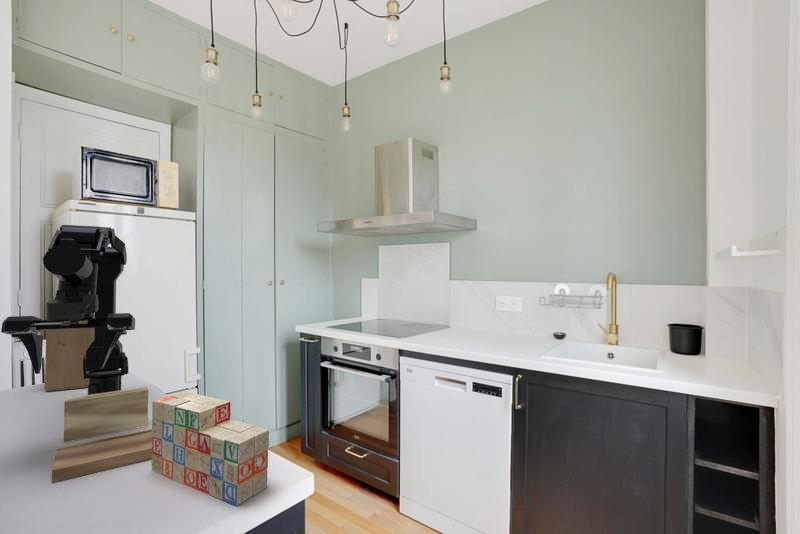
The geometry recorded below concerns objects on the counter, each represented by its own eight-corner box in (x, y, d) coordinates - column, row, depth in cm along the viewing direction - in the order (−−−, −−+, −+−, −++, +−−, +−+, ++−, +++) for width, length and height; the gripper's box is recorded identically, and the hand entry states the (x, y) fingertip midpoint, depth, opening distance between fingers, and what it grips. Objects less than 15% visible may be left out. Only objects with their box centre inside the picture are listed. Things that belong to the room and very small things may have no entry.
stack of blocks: (268, 487, 63) (270, 410, 63) (236, 508, 58) (238, 423, 58) (184, 456, 73) (186, 389, 73) (150, 471, 68) (151, 399, 68)
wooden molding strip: (56, 459, 71) (57, 446, 71) (154, 438, 80) (154, 427, 80) (51, 482, 63) (52, 468, 63) (160, 457, 72) (160, 444, 72)
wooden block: (43, 392, 107) (45, 319, 107) (55, 383, 116) (56, 315, 116) (89, 388, 112) (90, 317, 112) (97, 379, 121) (98, 314, 121)
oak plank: (64, 437, 80) (65, 398, 80) (146, 422, 89) (146, 386, 89) (63, 442, 78) (64, 402, 78) (147, 426, 86) (148, 390, 86)
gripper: (-7, 278, 65) (-20, 376, 61) (130, 278, 73) (125, 364, 70) (19, 291, 74) (8, 376, 71) (137, 290, 83) (133, 366, 79)
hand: (70, 371), depth 72 cm, fingers open, 9 cm apart
